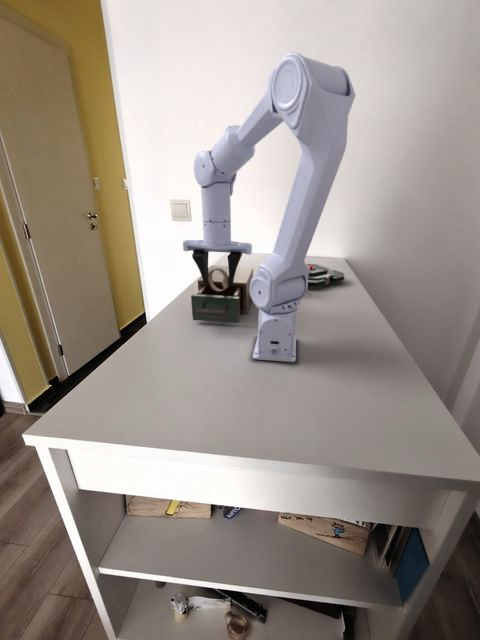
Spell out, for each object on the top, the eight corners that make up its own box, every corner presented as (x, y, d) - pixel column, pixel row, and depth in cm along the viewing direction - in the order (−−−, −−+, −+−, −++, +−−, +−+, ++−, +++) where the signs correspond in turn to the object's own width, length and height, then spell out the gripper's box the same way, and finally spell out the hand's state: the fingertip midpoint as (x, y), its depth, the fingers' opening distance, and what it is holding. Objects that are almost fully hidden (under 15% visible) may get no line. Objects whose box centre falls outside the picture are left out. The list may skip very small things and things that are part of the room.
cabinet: (246, 313, 81) (246, 283, 77) (199, 310, 82) (197, 280, 78) (252, 294, 93) (253, 267, 89) (212, 292, 94) (210, 265, 90)
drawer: (235, 331, 70) (235, 306, 67) (187, 328, 71) (185, 302, 68) (246, 303, 85) (246, 281, 82) (206, 300, 86) (205, 278, 83)
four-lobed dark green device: (269, 277, 108) (270, 262, 106) (309, 269, 118) (311, 256, 116) (308, 292, 96) (309, 277, 94) (349, 282, 106) (351, 268, 103)
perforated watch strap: (223, 294, 74) (222, 271, 71) (206, 289, 76) (205, 268, 73) (230, 291, 76) (230, 269, 73) (214, 286, 78) (213, 265, 75)
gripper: (254, 219, 71) (252, 281, 78) (187, 216, 72) (192, 277, 79) (249, 224, 65) (249, 290, 72) (177, 221, 66) (183, 286, 73)
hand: (218, 284), depth 75 cm, fingers closed on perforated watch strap, 5 cm apart
